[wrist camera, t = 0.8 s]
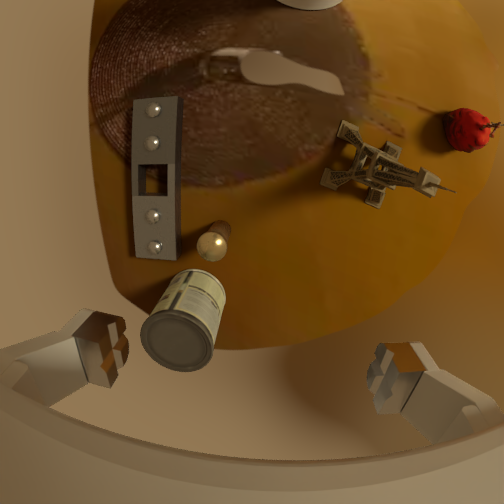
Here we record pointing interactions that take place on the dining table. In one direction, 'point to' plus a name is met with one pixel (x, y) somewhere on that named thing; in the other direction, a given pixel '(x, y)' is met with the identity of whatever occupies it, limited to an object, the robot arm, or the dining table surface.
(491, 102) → the dining table surface
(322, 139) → the dining table surface
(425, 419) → the robot arm
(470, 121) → the red rounded piece
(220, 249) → the pin
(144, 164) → the grey peg board
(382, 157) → the eiffel tower
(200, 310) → the coffee can
